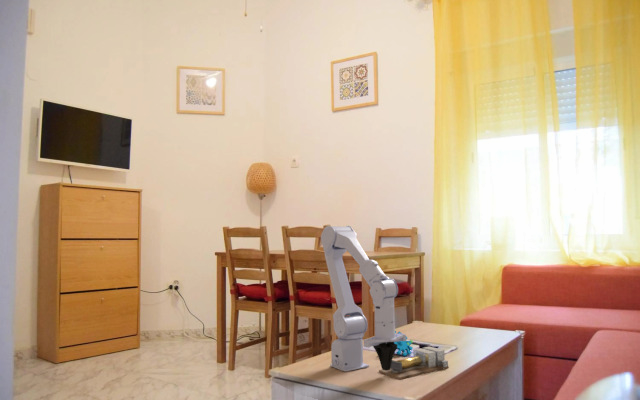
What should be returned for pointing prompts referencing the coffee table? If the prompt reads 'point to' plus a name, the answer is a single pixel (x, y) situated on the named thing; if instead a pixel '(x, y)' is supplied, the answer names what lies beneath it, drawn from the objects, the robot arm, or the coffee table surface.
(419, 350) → the link
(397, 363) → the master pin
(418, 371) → the board
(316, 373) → the coffee table surface
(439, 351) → the link
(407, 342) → the gear
